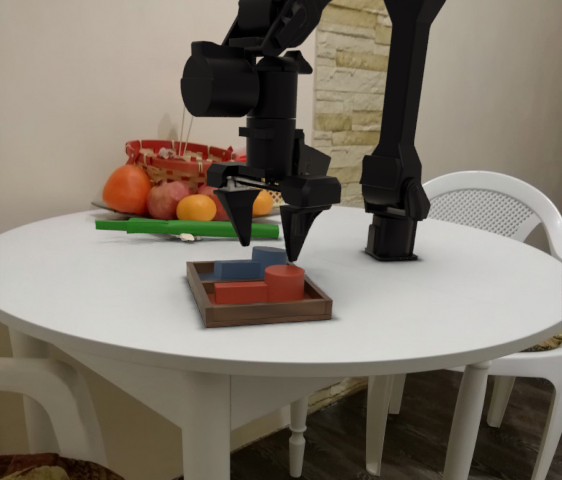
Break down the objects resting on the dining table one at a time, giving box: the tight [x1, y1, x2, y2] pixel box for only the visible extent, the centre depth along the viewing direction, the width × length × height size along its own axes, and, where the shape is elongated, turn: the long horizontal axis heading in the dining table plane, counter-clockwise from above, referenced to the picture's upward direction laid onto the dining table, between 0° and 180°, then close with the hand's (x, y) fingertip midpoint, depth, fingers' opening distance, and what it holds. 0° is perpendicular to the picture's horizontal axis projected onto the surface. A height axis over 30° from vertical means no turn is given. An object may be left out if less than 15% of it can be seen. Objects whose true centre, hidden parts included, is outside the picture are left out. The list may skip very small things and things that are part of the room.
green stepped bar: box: [94, 217, 280, 242], centre depth 90 cm, size 5×3×30 cm
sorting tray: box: [185, 258, 334, 328], centre depth 66 cm, size 14×18×2 cm
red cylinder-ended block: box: [214, 265, 306, 304], centre depth 62 cm, size 10×5×4 cm, turn 103°
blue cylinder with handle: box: [214, 245, 288, 279], centre depth 68 cm, size 10×5×4 cm, turn 131°
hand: (268, 253), depth 69 cm, fingers open, 9 cm apart
